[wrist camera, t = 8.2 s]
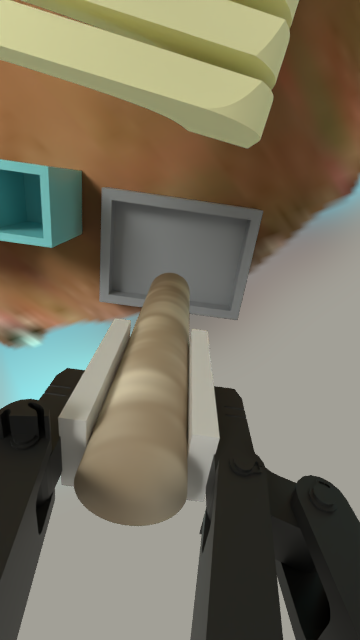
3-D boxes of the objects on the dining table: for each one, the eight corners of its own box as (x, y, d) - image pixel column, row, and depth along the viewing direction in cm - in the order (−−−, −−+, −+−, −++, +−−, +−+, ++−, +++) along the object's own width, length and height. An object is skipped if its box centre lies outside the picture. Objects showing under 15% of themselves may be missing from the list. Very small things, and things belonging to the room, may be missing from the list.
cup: (25, 225, 33) (-22, 237, 26) (19, 161, 30) (-34, 154, 23) (82, 233, 33) (51, 247, 26) (81, 170, 31) (48, 166, 23)
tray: (105, 293, 36) (99, 301, 34) (108, 187, 31) (101, 187, 29) (234, 311, 37) (237, 320, 34) (257, 209, 32) (263, 211, 29)
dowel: (148, 307, 23) (74, 519, 8) (151, 270, 22) (72, 442, 7) (186, 312, 23) (179, 531, 8) (192, 275, 22) (195, 457, 7)
